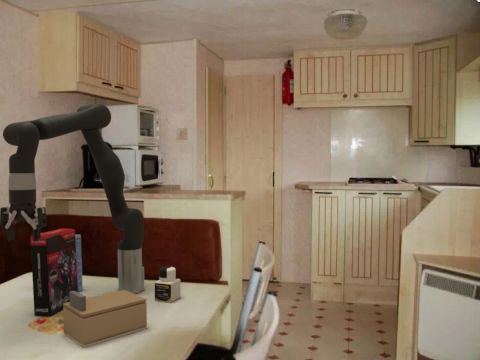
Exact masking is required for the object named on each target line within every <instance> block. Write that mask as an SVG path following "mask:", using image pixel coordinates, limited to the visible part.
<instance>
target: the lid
mask: <svg viewBox="0 0 480 360" xmlns="http://www.w3.org/2000/svg"><path fill="white" fill-rule="evenodd" d="M69 299H70V302H67V303H63V306H64V307H66V308H67V309H69V310H71V311H72V312H74V313H76V314H77V315H79V316H81V317H82V318H84V317H88V316H92V315H96V314H100V313H104V312H108V311H112V310H115V309H119V308H123V307H127V306H131V305H135V304H139V303H143V302H146V303H147V298H145V297H142V296H140V295H139V294H137V293H135V294H133V293H131V292H128V291H126V290H121V291H118V290H117V291H113V292H108V293H104V294H98V295H94V296H90V297H87V296H86V295H84V294H82V293H80V292H76V291H70V292H69Z"/></svg>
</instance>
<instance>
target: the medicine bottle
mask: <svg viewBox="0 0 480 360" xmlns="http://www.w3.org/2000/svg"><path fill="white" fill-rule="evenodd" d="M176 269H177V268H175V267H173V266H170V265H169V266H162V267H160V268H159V270H158V274H159V275H158V276H159V278H158V280H156V281H154V301H156V302H160V303H161V302H163V303H169V304H171V303H174V302H175V301H176V300H179V299H180V298H181V297H182V296H181V292H182V291H181V279H180V278H176V276H177V275H176Z"/></svg>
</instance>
